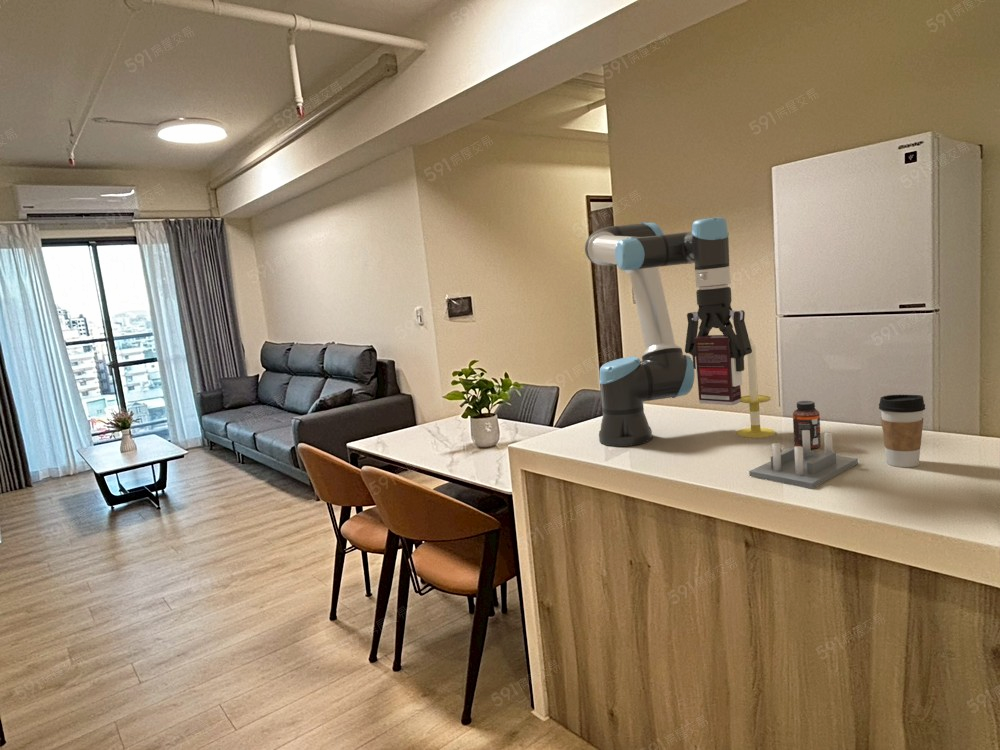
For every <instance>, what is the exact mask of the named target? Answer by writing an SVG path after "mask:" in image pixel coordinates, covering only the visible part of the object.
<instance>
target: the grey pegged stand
mask: <svg viewBox="0 0 1000 750" xmlns="http://www.w3.org/2000/svg"><path fill="white" fill-rule="evenodd" d="M802 441H803V447H801V446H795V445H793V446H791V447H790V448H789V447H788V448H787V449H785V450H783V451H781V443H779V442H774V443H772V444H771V449H772V455H771V456H770V461H769V462H766V463H764V464H761V465H760V466H758V467H755V468H753V469H751V470H748V471H749V472H748V473H749V474H748V475H749V477H750V476H751V477H752V478H755V477H756V479H760V478H761V480H765V479H767V480H766V481H770V480H772V482H775V481H776V483H782V484H784V485H785V484H786V485H791V486H796V487H800V488H805V489H812V490H813V489H815V488H817V487H819V486H820V485H822V484H824V483H825V482H828V481H829V480H831V479H833V478H835V477H836V476H838V475H840V474H842V473H843V472H845V471H847V470H849V469H851V468H853V467H854V466H855V467H856V465H858V464H859V459H858V458H857V457H851V456H850V457H849V456H845V455H837V452H836V451H834V450H833V449H834V447H833V432H824V433H823V441H824V444H823V445H824V446H823V447H824V453H823V452H818V451H811V450H812V449H811V447H810V431H809V430H802ZM751 477H750V478H751Z"/></svg>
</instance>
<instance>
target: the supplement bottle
mask: <svg viewBox="0 0 1000 750" xmlns="http://www.w3.org/2000/svg"><path fill="white" fill-rule="evenodd" d="M815 404H816V403H815V401H812V400H800V401H797V402H796V408H797V409H795V410H794V411H793V412H792V425H793V443H794V444H793V446H801V447H803V441H802V430H809V431H810V447H811V450H813V449H817V448H819V447H820V446H821V443H822V442H821V440H822V439H821V421H820V419H821V418H820V417H821V416H820V412H819V411H818V410H817V409H816V408H815V407H816V405H815Z"/></svg>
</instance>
